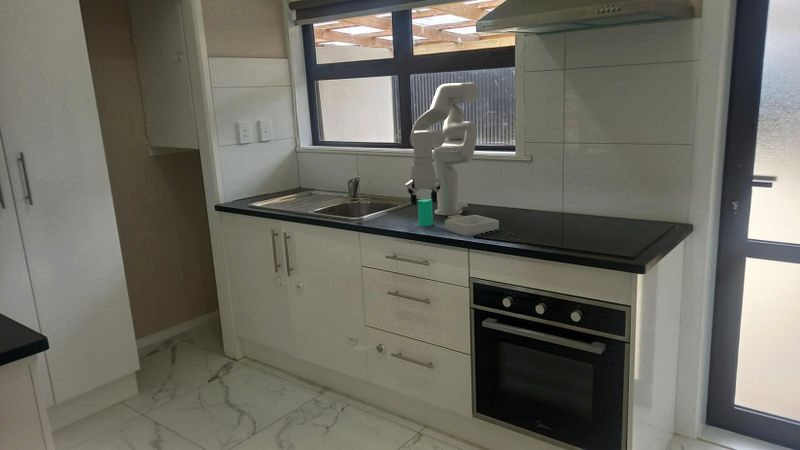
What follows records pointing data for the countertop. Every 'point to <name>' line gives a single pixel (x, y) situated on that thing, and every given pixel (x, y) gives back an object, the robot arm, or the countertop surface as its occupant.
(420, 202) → the candle
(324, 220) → the countertop surface
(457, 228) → the bin
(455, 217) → the oak block
